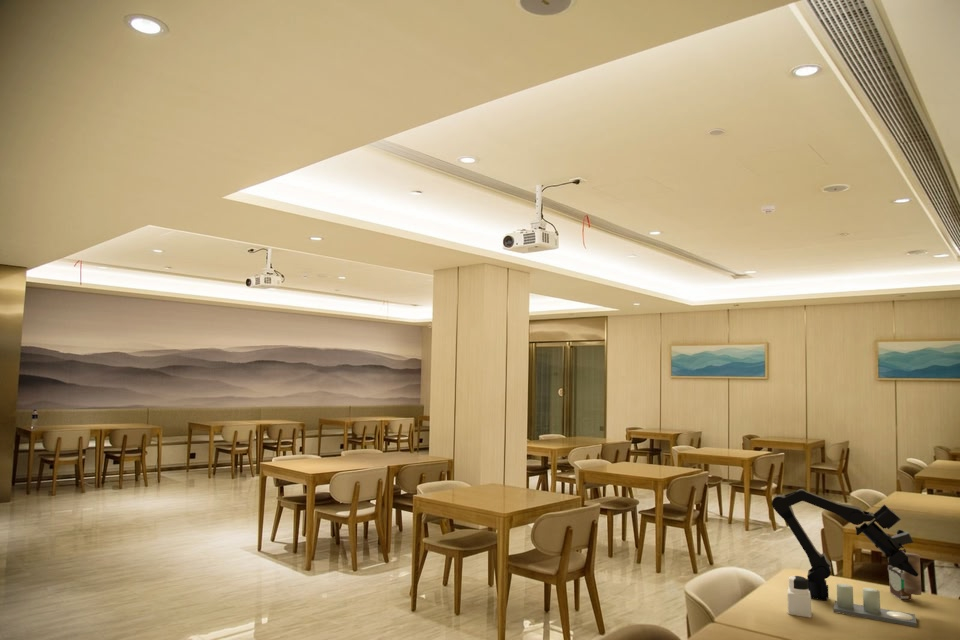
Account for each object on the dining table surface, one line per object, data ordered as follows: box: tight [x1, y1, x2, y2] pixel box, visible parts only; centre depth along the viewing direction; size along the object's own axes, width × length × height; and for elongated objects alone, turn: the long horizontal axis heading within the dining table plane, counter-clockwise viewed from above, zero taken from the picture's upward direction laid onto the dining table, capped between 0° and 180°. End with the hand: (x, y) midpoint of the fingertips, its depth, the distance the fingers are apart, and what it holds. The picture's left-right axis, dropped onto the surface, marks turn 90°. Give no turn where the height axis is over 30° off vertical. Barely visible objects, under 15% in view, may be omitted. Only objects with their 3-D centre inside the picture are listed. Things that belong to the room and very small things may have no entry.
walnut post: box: [903, 552, 922, 596], centre depth 223 cm, size 5×5×13 cm
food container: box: [887, 564, 913, 601], centre depth 240 cm, size 12×6×10 cm, turn 168°
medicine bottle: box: [786, 575, 813, 618], centre depth 220 cm, size 7×7×12 cm
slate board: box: [832, 600, 918, 628], centre depth 219 cm, size 24×10×1 cm, turn 58°
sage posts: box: [836, 583, 881, 614], centre depth 222 cm, size 13×5×7 cm, turn 58°
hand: (916, 573), depth 223 cm, fingers closed on walnut post, 5 cm apart
